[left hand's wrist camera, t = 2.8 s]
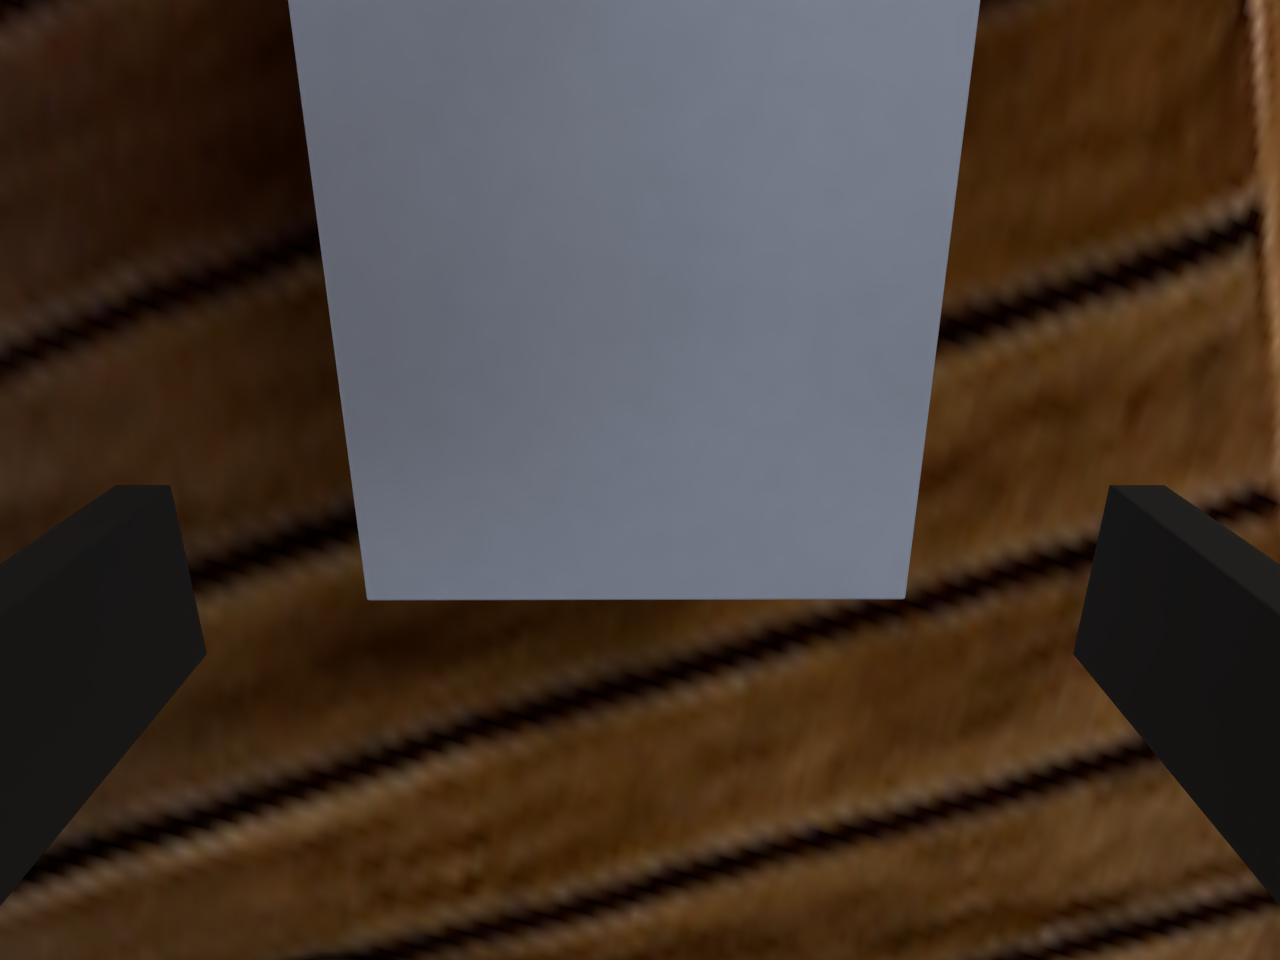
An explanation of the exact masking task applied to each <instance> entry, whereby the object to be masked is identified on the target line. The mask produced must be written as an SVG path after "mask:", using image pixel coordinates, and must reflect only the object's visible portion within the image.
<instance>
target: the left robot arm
mask: <svg viewBox="0 0 1280 960" xmlns="http://www.w3.org/2000/svg"><path fill="white" fill-rule="evenodd" d="M206 654H207V653H206V648H205V643H204V639H203V634H202V630H201V625H200V620H199V616H198V611H197V606H196V602H195V597H194V592H193V588H192V583H191V579H190V574H189V569H188V565H187V560H186V555H185V551H184V546H183V542H182V537H181V532H180V528H179V523H178V518H177V514H176V509H175V505H174V500H173V495H172V491H171V486H170V485H115V486H114V487H113V488H111V489H110V490H108V491H107V492H105V493H104V494H102V495H101V496H99V497H98V498H97V499H95V500H94V501H92V502H91V503H89V504H88V505H86V506H85V507H83V508H82V509H80V510H79V511H78V512H76V513H75V514H73V515H72V516H70V517H69V518H67V519H66V520H64V521H63V522H62V523H60V524H59V525H57V526H56V527H54V528H53V529H51V530H50V531H48V532H47V533H46V534H44V535H43V536H41V537H40V538H38V539H37V540H35V541H34V542H32V543H31V544H30V545H28V546H27V547H25V548H24V549H22V550H21V551H19V552H18V553H16V554H15V555H14V556H12V557H11V558H9V559H8V560H6V561H5V562H3V563H2V564H0V905H1V904H2V903H3V902H4V901H5V899H6V898H7V897H8V896H9V894H10V893H11V892H12V891H13V890H14V888H15V887H16V886H17V885H18V883H19V882H20V881H21V880H22V879H23V877H24V876H25V875H26V874H27V872H28V871H29V870H30V869H31V868H32V866H33V865H34V864H35V863H36V861H37V860H38V859H39V858H40V857H41V855H42V854H43V853H44V852H45V850H46V849H47V848H48V847H49V846H50V844H51V843H52V842H53V841H54V840H55V838H56V837H57V836H58V835H59V833H60V832H61V831H62V830H63V829H64V827H65V826H66V825H67V824H68V822H69V821H70V820H71V819H72V818H73V816H74V815H75V814H76V813H77V811H78V810H79V809H80V808H81V807H82V805H83V804H84V803H85V802H86V800H87V799H88V798H89V797H90V796H91V794H92V793H93V792H94V791H95V790H96V788H97V787H98V786H99V785H100V783H101V782H102V781H103V780H104V779H105V777H106V776H107V775H108V774H109V772H110V771H111V770H112V769H113V768H114V766H115V765H116V764H117V763H118V761H119V760H120V759H121V758H122V757H123V755H124V754H125V753H126V752H127V750H128V749H129V748H130V747H131V746H132V744H133V743H134V742H135V741H136V739H137V738H138V737H139V736H140V735H141V733H142V732H143V731H144V730H145V729H146V727H147V726H148V725H149V724H150V722H151V721H152V720H153V719H154V718H155V716H156V715H157V714H158V713H159V711H160V710H161V709H162V708H163V707H164V705H165V704H166V703H167V702H168V700H169V699H170V698H171V697H172V696H173V694H174V693H175V692H176V691H177V689H178V688H179V687H180V686H181V685H182V683H183V682H184V681H185V680H186V678H187V677H188V676H189V675H190V674H191V672H192V671H193V670H194V669H195V668H196V666H197V665H198V664H199V663H200V661H201V660H202V659H203V658H204V657H205V655H206ZM1073 654H1074V655H1075V657H1076V658H1077V659H1078V660H1079V661H1080V663H1081V664H1082V665H1083V666H1084V668H1085V669H1086V670H1087V671H1088V672H1089V674H1090V675H1091V676H1092V677H1093V678H1094V680H1095V681H1096V682H1097V683H1098V685H1099V686H1100V687H1101V688H1102V689H1103V691H1104V692H1105V693H1106V694H1107V696H1108V697H1109V698H1110V699H1111V700H1112V702H1113V703H1114V704H1115V705H1116V707H1117V708H1118V709H1119V710H1120V711H1121V713H1122V714H1123V715H1124V716H1125V718H1126V719H1127V720H1128V721H1129V722H1130V724H1131V725H1132V726H1133V727H1134V729H1135V730H1136V731H1137V732H1138V733H1139V735H1140V736H1141V737H1142V738H1143V739H1144V741H1145V742H1146V743H1147V744H1148V746H1149V747H1150V748H1151V749H1152V750H1153V752H1154V753H1155V754H1156V755H1157V757H1158V758H1159V759H1160V760H1161V761H1162V763H1163V764H1164V765H1165V766H1166V768H1167V769H1168V770H1169V771H1170V772H1171V774H1172V775H1173V776H1174V777H1175V779H1176V780H1177V781H1178V782H1179V783H1180V785H1181V786H1182V787H1183V788H1184V790H1185V791H1186V792H1187V793H1188V794H1189V796H1190V797H1191V798H1192V799H1193V800H1194V802H1195V803H1196V804H1197V805H1198V807H1199V808H1200V809H1201V810H1202V811H1203V813H1204V814H1205V815H1206V816H1207V818H1208V819H1209V820H1210V821H1211V822H1212V824H1213V825H1214V826H1215V827H1216V829H1217V830H1218V831H1219V832H1220V833H1221V835H1222V836H1223V837H1224V838H1225V840H1226V841H1227V842H1228V843H1229V844H1230V846H1231V847H1232V848H1233V849H1234V850H1235V852H1236V853H1237V854H1238V855H1239V857H1240V858H1241V859H1242V860H1243V861H1244V863H1245V864H1246V865H1247V866H1248V868H1249V869H1250V870H1251V871H1252V872H1253V874H1254V875H1255V876H1256V877H1257V879H1258V880H1259V881H1260V882H1261V883H1262V885H1263V886H1264V887H1265V888H1266V890H1267V891H1268V892H1269V893H1270V894H1271V896H1272V897H1273V898H1274V899H1275V901H1276V902H1277V903H1278V904H1279V905H1280V564H1278V563H1277V562H1275V561H1274V560H1272V559H1271V558H1269V557H1268V556H1266V555H1265V554H1264V553H1262V552H1261V551H1259V550H1258V549H1256V548H1255V547H1253V546H1252V545H1250V544H1249V543H1248V542H1246V541H1245V540H1243V539H1242V538H1240V537H1239V536H1237V535H1236V534H1234V533H1233V532H1232V531H1230V530H1229V529H1227V528H1226V527H1224V526H1223V525H1221V524H1220V523H1218V522H1217V521H1216V520H1214V519H1213V518H1211V517H1210V516H1208V515H1207V514H1205V513H1204V512H1202V511H1201V510H1200V509H1198V508H1197V507H1195V506H1194V505H1192V504H1191V503H1189V502H1188V501H1186V500H1185V499H1183V498H1182V497H1181V496H1179V495H1178V494H1176V493H1175V492H1173V491H1172V490H1170V489H1169V488H1167V487H1166V486H1165V485H1110V486H1109V491H1108V495H1107V500H1106V505H1105V509H1104V514H1103V518H1102V523H1101V528H1100V532H1099V537H1098V542H1097V546H1096V551H1095V555H1094V560H1093V565H1092V569H1091V574H1090V579H1089V583H1088V588H1087V592H1086V597H1085V602H1084V606H1083V611H1082V616H1081V620H1080V625H1079V630H1078V634H1077V639H1076V643H1075V648H1074V653H1073ZM307 960H359V959H344V958H322V959H307Z"/></svg>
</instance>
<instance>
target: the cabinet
mask: <svg viewBox="0 0 1280 960" xmlns="http://www.w3.org/2000/svg"><path fill="white" fill-rule="evenodd" d="M288 4H289V11H290V19H291V26H292V34H293V42H294V49H295V57H296V64H297V72H298V79H299V87H300V95H301V102H302V110H303V117H304V125H305V132H306V140H307V148H308V155H309V163H310V170H311V178H312V185H313V193H314V201H315V208H316V216H317V223H318V231H319V238H320V246H321V254H322V261H323V269H324V276H325V284H326V291H327V299H328V307H329V314H330V322H331V329H332V337H333V344H334V352H335V360H336V367H337V375H338V382H339V390H340V397H341V405H342V413H343V420H344V428H345V435H346V443H347V450H348V458H349V466H350V473H351V481H352V488H353V496H354V503H355V511H356V519H357V526H358V534H359V541H360V549H361V556H362V564H363V572H364V579H365V587H366V594H367V599H368V600H745V599H904V598H905V594H906V586H907V578H908V570H909V563H910V555H911V547H912V539H913V531H914V523H915V515H916V507H917V499H918V491H919V483H920V475H921V467H922V459H923V451H924V443H925V435H926V427H927V419H928V412H929V404H930V396H931V388H932V380H933V372H934V364H935V356H936V348H937V340H938V332H939V324H940V316H941V308H942V300H943V292H944V284H945V276H946V268H947V261H948V253H949V245H950V237H951V229H952V221H953V213H954V205H955V197H956V189H957V181H958V173H959V165H960V157H961V149H962V141H963V133H964V125H965V117H966V110H967V102H968V94H969V86H970V78H971V70H972V62H973V54H974V46H975V38H976V30H977V22H978V14H979V6H980V0H288Z"/></svg>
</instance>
